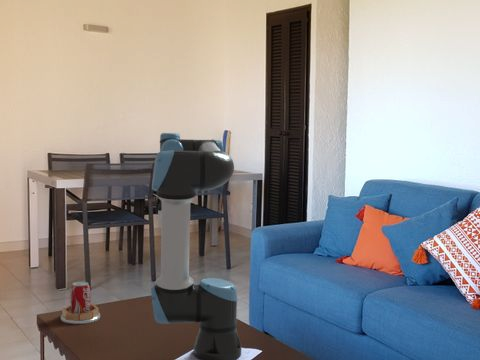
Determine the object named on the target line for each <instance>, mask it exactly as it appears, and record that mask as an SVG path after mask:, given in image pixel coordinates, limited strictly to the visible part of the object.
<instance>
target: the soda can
mask: <svg viewBox="0 0 480 360" xmlns="http://www.w3.org/2000/svg"><path fill="white" fill-rule="evenodd" d="M90 304H91V287H90V284H89V282H88V281H83V280H81V281H75V282H73V283H72V285H71V287H70V305H71V313H85V312H90Z"/></svg>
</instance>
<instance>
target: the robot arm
mask: <svg viewBox="0 0 480 360" xmlns="http://www.w3.org/2000/svg"><path fill="white" fill-rule="evenodd" d="M159 138H160V139H159V152H158V153H157V154H156V156H155V160H154V166H153V172H152V180H151V181H152V182H151V190H153V191H154V192H156V201H155V205H154V206H155V207H154V208H155V209H157V227H158V228H161V231H160V233H161V234H160V236H161V237H160V238H161V239H160V240H161V241H160V242H161V243H160V250H161V251H160V275H159V276H158V277H157V278H156V280H155V284H154V285H151V286H150V292H151V293H150V295H151V301H152V302H151V303H152V309H153V311H152V312H153V317H154V320H155V322H156V323H158V324H168V325H171V324H172V325H173V324H193V323H199V330H198V333H197V336H196V338H195V342H194V345H193V355H194V356H195V357H196V358H197V359H199V360H201V359H202V360H234V359H235V360H236V359H238V358H240V357H241V355H242V344H241V340H240V337H239V334H238V331H237V316H238V315H237V313H238V312H237V310H238V309H237V306H238V292H237V290H238V289H237V286H236V285H235V284H234V283H232V282H231V281H228V280H225V279H221V278H215V277H214V278H213V277H208V278H203V279H201V280H200V281H199V284H194V279H193V277H191V276H190V274H189V273H190V241H191V240H190V238H191V236H190V235H191V202H192V201H193V200H194V199H195V198H196V197H197V191H209V190H211V191H212V190H215V189H217V188H219V187H221V186H224V185H225V184H226V183H227V182H228V181H229V180H230V179H232V177H233V174H234V172H235V163H234V161H233V158H232V157H231V156H230V155H229V154H228V153H226V152H225V151H224V143H223V141H222V140H218V139H181V135H180V133H178V132H175V133H174V132H162V133H161V134H160V137H159Z"/></svg>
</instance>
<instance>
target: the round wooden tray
mask: <svg viewBox="0 0 480 360" xmlns="http://www.w3.org/2000/svg"><path fill="white" fill-rule="evenodd" d="M61 310H62V314H61V316H60V321H61V322H62V323H65V324H68V325H87V324H91V322H92V323H94V321H95V322H97V321H99V320H100V318H101V312H99V311H100V310H99V306H96V305H95V304H93V303H90V312H85V313H71V304H69V305H67V306H66V307H64V308H63V309H61Z"/></svg>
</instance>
